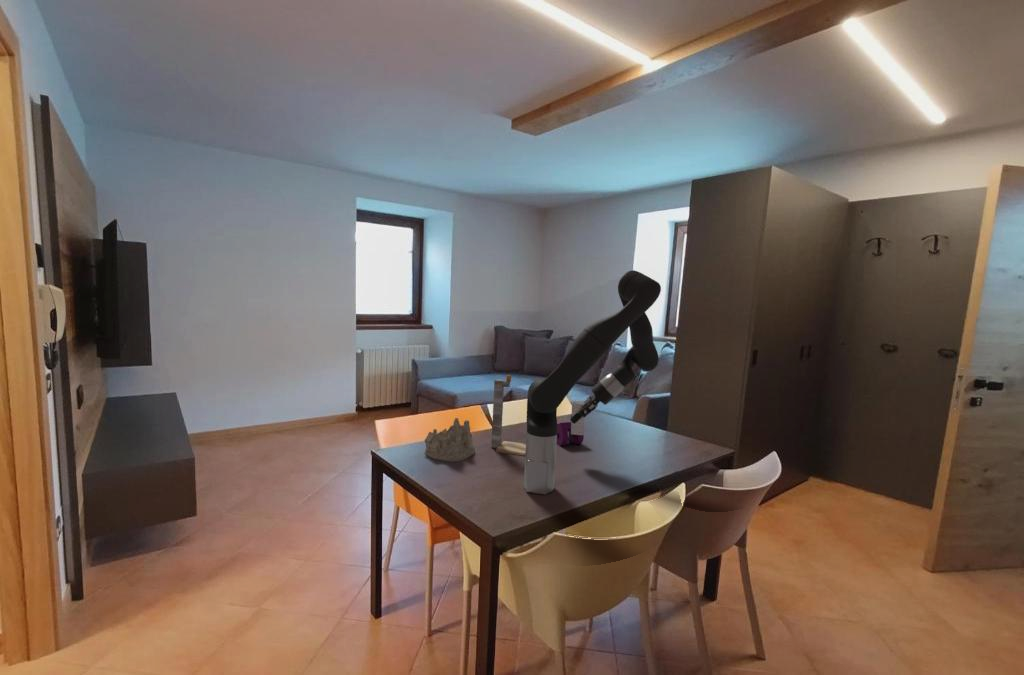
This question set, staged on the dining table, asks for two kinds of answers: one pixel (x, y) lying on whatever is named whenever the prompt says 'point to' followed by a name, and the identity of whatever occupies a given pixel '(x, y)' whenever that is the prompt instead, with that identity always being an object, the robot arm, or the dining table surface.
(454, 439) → the gray sandcastle
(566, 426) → the mounting bracket
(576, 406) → the gray rectangular block
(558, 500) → the dining table surface
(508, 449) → the keeper
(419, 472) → the dining table surface
